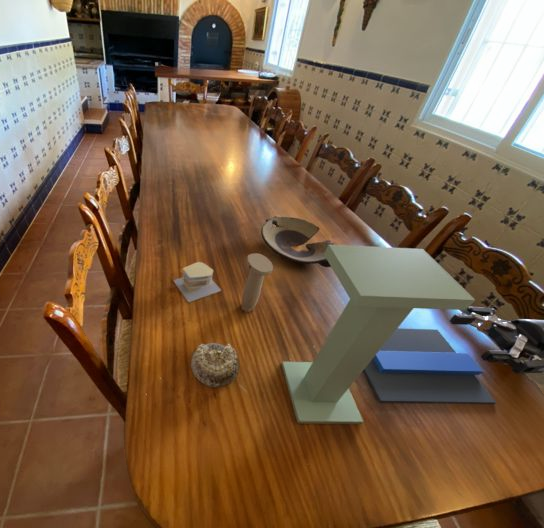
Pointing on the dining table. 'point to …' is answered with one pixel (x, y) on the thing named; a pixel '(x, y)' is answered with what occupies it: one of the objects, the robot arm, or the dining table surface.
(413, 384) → the mat
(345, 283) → the stand
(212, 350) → the grey speckled round piece
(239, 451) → the dining table surface
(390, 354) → the blue flat bar
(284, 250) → the broken bowl
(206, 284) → the stacked layers on plate
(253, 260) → the handle
